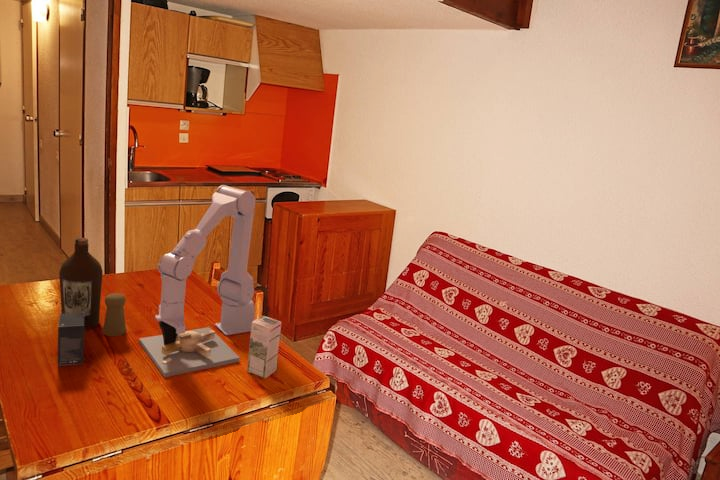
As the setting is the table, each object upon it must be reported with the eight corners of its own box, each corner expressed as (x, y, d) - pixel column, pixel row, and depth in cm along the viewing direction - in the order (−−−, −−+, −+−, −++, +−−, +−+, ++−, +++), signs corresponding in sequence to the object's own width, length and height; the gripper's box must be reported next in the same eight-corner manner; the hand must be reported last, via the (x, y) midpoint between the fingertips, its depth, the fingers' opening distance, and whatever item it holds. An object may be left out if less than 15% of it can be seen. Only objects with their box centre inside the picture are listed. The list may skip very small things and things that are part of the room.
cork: (117, 337, 146) (118, 300, 143) (97, 333, 147) (98, 296, 144) (130, 329, 152) (132, 293, 149) (111, 324, 153) (112, 289, 150)
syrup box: (276, 370, 142) (282, 320, 138) (264, 379, 136) (269, 327, 133) (259, 363, 144) (264, 314, 140) (245, 372, 138) (250, 321, 135)
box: (83, 364, 131) (84, 325, 128) (57, 366, 129) (57, 326, 126) (84, 349, 138) (84, 311, 135) (59, 351, 135) (59, 313, 133)
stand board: (209, 330, 158) (209, 326, 158) (239, 361, 143) (239, 356, 143) (139, 342, 145) (139, 337, 145) (164, 377, 131) (164, 372, 130)
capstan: (169, 335, 149) (170, 322, 148) (215, 338, 151) (216, 325, 150) (160, 356, 137) (161, 342, 136) (210, 359, 139) (211, 345, 138)
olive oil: (65, 314, 155) (65, 232, 148) (105, 316, 157) (107, 235, 151) (54, 331, 145) (53, 243, 138) (96, 332, 147) (98, 246, 141)
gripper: (148, 290, 139) (145, 337, 143) (166, 312, 129) (163, 362, 132) (174, 288, 144) (171, 333, 147) (195, 308, 133) (190, 357, 136)
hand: (169, 347), depth 140 cm, fingers closed, pressing on capstan
